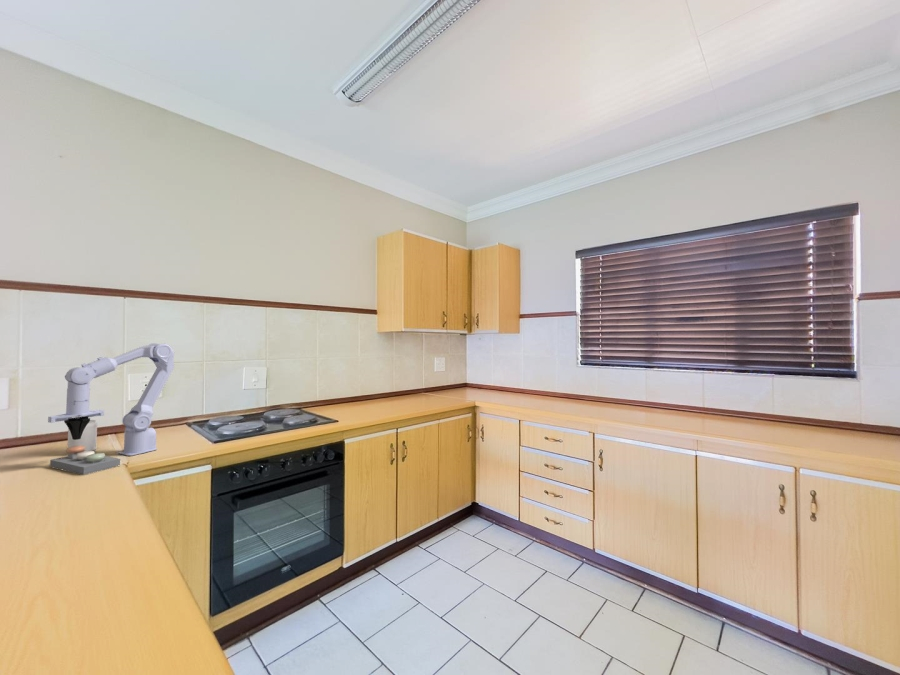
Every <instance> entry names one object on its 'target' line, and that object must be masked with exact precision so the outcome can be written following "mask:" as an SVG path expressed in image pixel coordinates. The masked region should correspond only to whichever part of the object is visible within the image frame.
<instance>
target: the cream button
mask: <svg viewBox="0 0 900 675" xmlns="http://www.w3.org/2000/svg"><path fill="white" fill-rule="evenodd" d="M91 454H96V453H95V450H94V451H86V452H80V453H77V459H78V461H86V460H87V456H88V455H91Z"/></svg>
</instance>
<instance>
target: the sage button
mask: <svg viewBox="0 0 900 675" xmlns="http://www.w3.org/2000/svg"><path fill="white" fill-rule="evenodd" d="M105 456H106V455H105V453H104V452H98V453H94V454H91V455H88V456H87V461H88V463H91V464H93V463H97V462H102V461H104V458H105Z"/></svg>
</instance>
